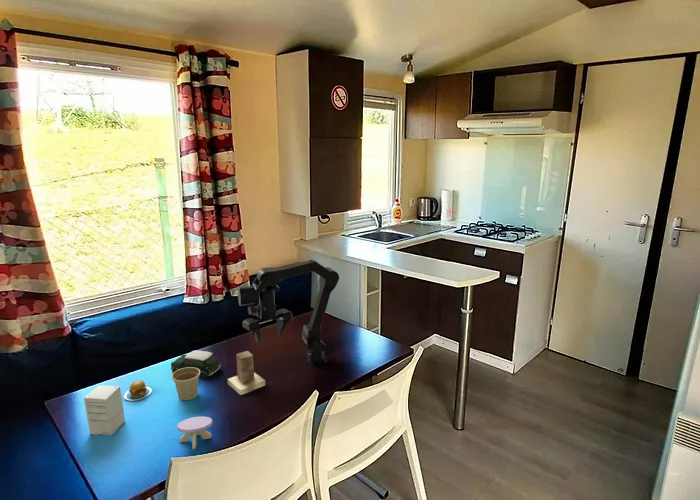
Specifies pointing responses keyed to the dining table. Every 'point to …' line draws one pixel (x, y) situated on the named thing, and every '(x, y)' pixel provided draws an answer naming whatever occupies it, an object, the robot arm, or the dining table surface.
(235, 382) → the plinth
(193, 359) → the miniature car
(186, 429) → the toy table
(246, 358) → the walnut block
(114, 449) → the dining table surface
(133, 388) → the hamburger
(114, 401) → the supplement box
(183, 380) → the flower pot
